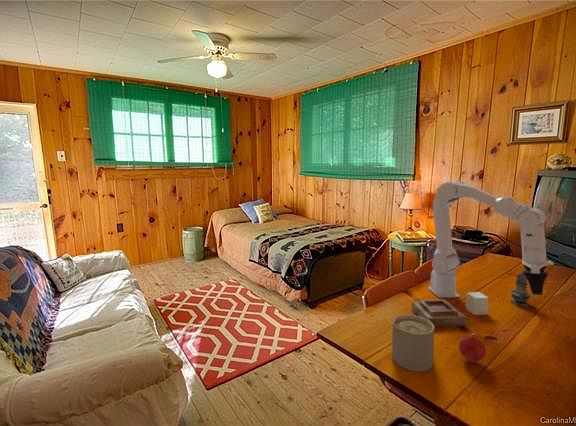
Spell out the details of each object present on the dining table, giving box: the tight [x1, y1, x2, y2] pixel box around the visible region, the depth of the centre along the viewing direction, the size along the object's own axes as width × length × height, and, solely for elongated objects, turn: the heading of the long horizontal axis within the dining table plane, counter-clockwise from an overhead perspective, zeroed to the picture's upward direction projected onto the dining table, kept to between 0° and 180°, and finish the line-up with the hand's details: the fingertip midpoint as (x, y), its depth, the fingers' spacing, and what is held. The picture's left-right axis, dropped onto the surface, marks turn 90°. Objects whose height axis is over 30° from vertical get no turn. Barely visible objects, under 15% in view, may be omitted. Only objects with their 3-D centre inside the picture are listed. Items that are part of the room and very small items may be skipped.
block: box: [465, 291, 489, 316], centre depth 102 cm, size 4×4×6 cm
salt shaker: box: [510, 271, 532, 307], centre depth 106 cm, size 6×6×12 cm
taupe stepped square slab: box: [411, 298, 467, 328], centre depth 99 cm, size 12×12×4 cm
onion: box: [458, 333, 487, 364], centre depth 76 cm, size 6×6×8 cm
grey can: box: [391, 313, 435, 372], centre depth 78 cm, size 13×10×10 cm
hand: (536, 290), depth 92 cm, fingers open, 7 cm apart
